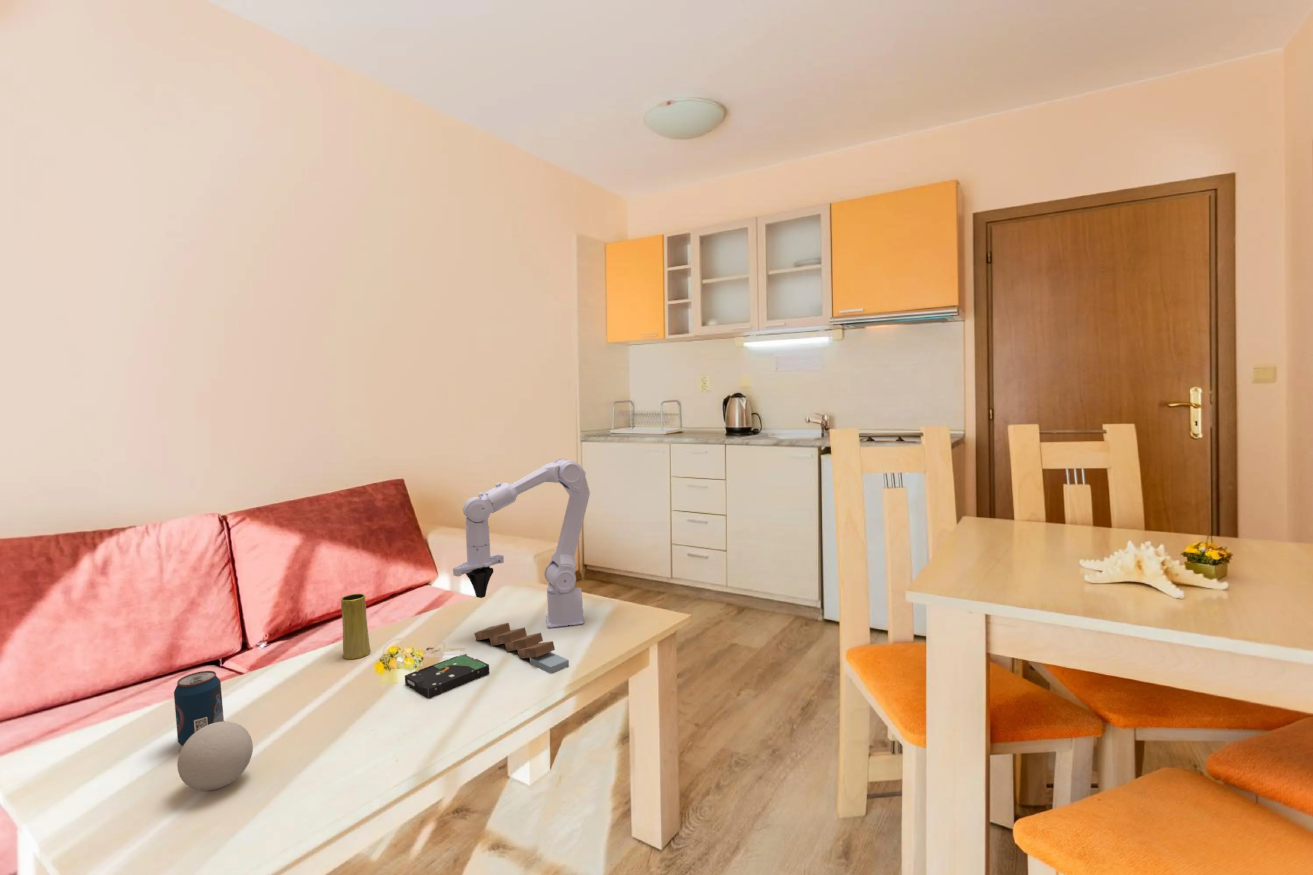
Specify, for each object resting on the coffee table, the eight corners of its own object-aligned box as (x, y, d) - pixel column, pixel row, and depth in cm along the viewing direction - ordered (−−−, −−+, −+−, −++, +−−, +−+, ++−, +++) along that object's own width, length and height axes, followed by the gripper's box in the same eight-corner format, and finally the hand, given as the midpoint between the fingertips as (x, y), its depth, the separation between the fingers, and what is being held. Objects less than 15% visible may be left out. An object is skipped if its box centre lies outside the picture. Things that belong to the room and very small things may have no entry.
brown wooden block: (523, 644, 156) (543, 640, 151) (506, 651, 152) (526, 647, 147) (521, 636, 157) (540, 632, 152) (504, 643, 153) (524, 639, 148)
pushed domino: (492, 634, 164) (510, 630, 159) (476, 640, 160) (494, 636, 155) (490, 626, 164) (508, 622, 159) (474, 632, 160) (492, 628, 155)
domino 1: (507, 639, 160) (526, 635, 155) (491, 645, 156) (510, 642, 151) (505, 631, 160) (524, 627, 155) (489, 637, 156) (508, 633, 152)
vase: (337, 657, 151) (333, 599, 150) (357, 647, 157) (354, 591, 156) (356, 661, 149) (352, 602, 148) (376, 650, 155) (372, 594, 154)
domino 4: (548, 658, 149) (568, 668, 143) (530, 665, 145) (550, 675, 140) (547, 650, 149) (568, 659, 143) (529, 657, 145) (550, 667, 140)
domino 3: (537, 651, 152) (555, 649, 146) (519, 658, 148) (536, 656, 143) (535, 643, 152) (552, 641, 146) (517, 649, 149) (534, 647, 143)
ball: (167, 809, 96) (161, 747, 96) (197, 772, 106) (193, 714, 105) (240, 798, 99) (235, 736, 98) (264, 762, 108) (260, 706, 108)
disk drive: (429, 702, 129) (490, 675, 141) (428, 689, 129) (490, 663, 140) (404, 687, 136) (464, 663, 147) (403, 675, 136) (464, 651, 147)
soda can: (178, 739, 116) (172, 676, 116) (223, 726, 121) (218, 665, 120) (178, 756, 111) (172, 690, 110) (226, 741, 115) (221, 678, 114)
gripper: (464, 552, 152) (467, 607, 153) (510, 540, 164) (512, 591, 165) (446, 549, 156) (449, 602, 157) (492, 537, 168) (494, 587, 169)
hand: (480, 596), depth 162 cm, fingers closed
